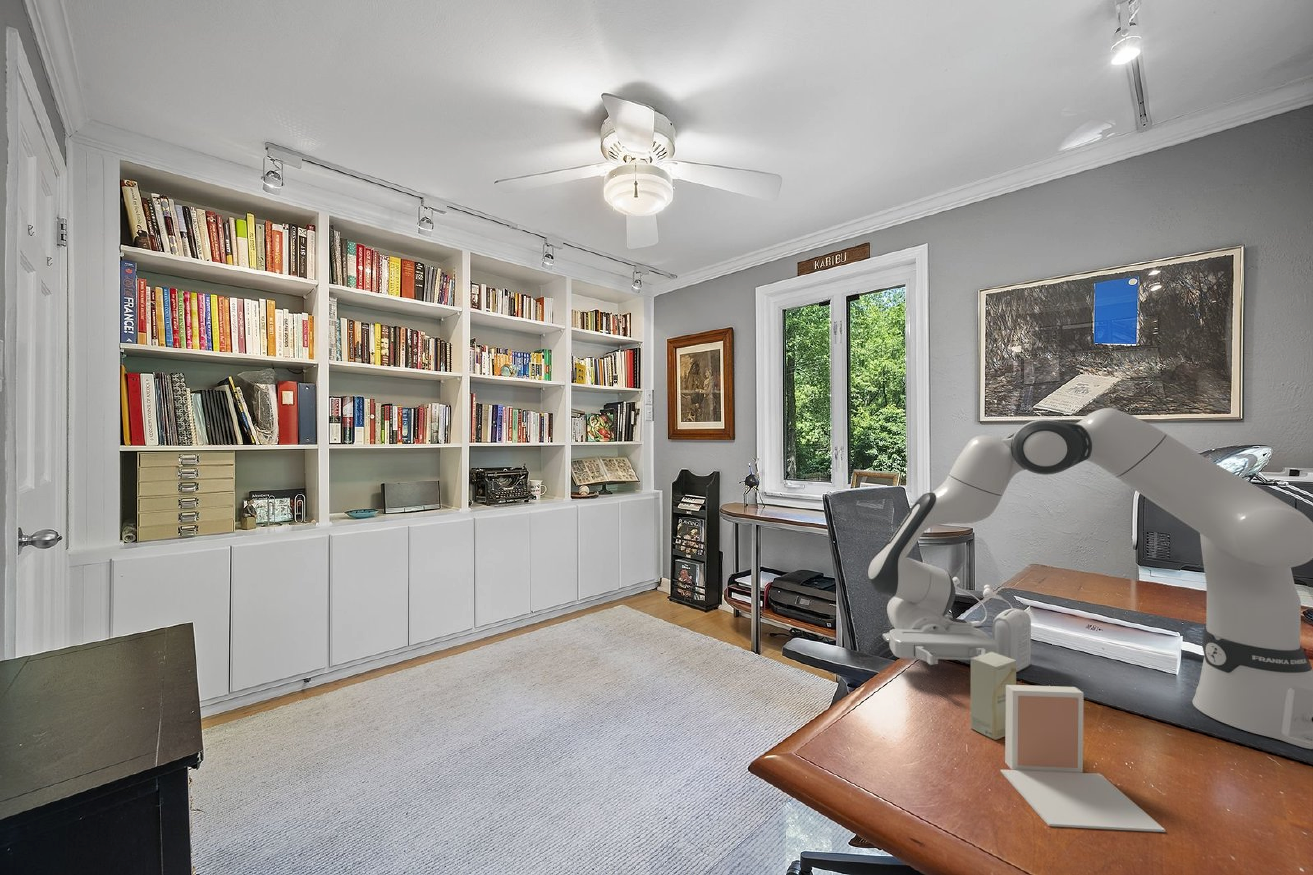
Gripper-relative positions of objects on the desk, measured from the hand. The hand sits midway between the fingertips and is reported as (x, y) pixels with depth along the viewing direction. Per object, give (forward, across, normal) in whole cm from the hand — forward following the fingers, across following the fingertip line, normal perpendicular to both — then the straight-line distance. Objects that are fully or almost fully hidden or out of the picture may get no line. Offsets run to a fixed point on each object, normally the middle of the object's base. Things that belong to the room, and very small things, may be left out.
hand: (959, 661), depth 102 cm
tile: (+22, +2, +7) cm, 23 cm away
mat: (+29, +2, +6) cm, 29 cm away
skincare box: (+12, 0, +7) cm, 13 cm away
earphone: (-30, +18, +7) cm, 36 cm away
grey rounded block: (-13, +17, +7) cm, 23 cm away
